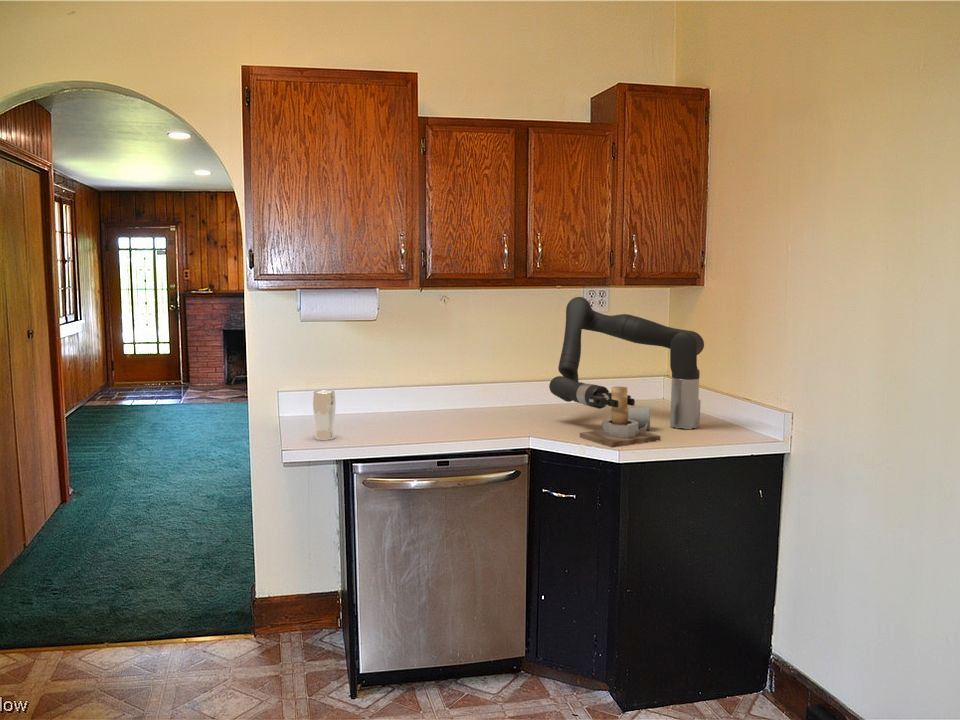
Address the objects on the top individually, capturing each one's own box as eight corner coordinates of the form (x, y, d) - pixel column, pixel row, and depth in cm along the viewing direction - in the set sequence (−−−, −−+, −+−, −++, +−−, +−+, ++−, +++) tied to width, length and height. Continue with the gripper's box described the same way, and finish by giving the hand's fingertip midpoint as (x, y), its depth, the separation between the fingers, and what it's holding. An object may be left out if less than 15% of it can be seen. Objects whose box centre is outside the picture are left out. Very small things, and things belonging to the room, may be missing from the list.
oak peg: (620, 432, 258) (620, 386, 257) (630, 434, 254) (630, 387, 253) (608, 433, 256) (608, 387, 255) (618, 435, 251) (618, 388, 250)
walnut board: (627, 431, 267) (627, 426, 267) (660, 440, 253) (660, 435, 253) (579, 437, 257) (579, 432, 257) (611, 447, 243) (611, 442, 243)
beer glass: (315, 436, 256) (314, 390, 254) (337, 435, 256) (336, 390, 254) (312, 440, 249) (311, 393, 247) (334, 440, 249) (333, 393, 247)
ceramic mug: (625, 426, 275) (626, 404, 274) (650, 427, 273) (650, 405, 272) (625, 433, 264) (626, 410, 263) (650, 434, 263) (651, 411, 262)
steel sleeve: (621, 429, 262) (622, 417, 262) (644, 435, 253) (645, 423, 252) (595, 432, 257) (595, 420, 256) (617, 439, 247) (618, 426, 247)
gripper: (575, 386, 262) (608, 393, 247) (609, 383, 269) (643, 390, 254) (575, 408, 263) (607, 416, 248) (609, 404, 270) (642, 412, 255)
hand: (625, 403), depth 251 cm, fingers open, 6 cm apart
